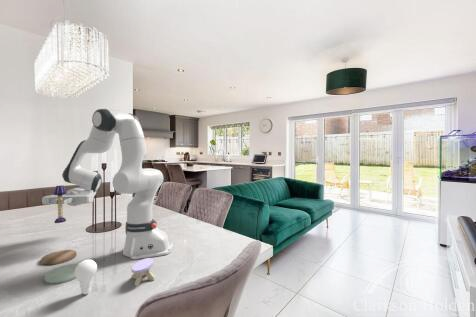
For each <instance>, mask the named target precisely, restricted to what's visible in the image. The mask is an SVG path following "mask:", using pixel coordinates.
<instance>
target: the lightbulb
mask: <svg viewBox="0 0 476 317" xmlns="http://www.w3.org/2000/svg"><path fill="white" fill-rule="evenodd" d="M77 264H78V265H77V266H76V268H75V276H76V278H75V279H77V281H78V283H79V288H80V292H81V294H82V295H87V294H88V295H89V293H90V292H91V291H92V284H93V279H94V276H95V275H96V274H97V271H98V264H97V263H96V262H95V261H94V260H93V259H84V260H81V261H80V262H79V263H77Z"/></svg>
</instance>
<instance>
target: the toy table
mask: <svg viewBox="0 0 476 317" xmlns="http://www.w3.org/2000/svg"><path fill="white" fill-rule="evenodd" d="M154 263H155V262H154V258H153V257H147V258H142V259H141V260H138V261H137V262H135V263H134V264H133V265H132V267H131V273H133V274H132V275H131V279H135V282H134V286H136V287H138V286H139V285H140V284H141V283H142V279H143V275H144V276H146V278H147V281H155V279H156V277H155V275H154V274H153V272H152V271H151V268H152V267H153V266H154Z"/></svg>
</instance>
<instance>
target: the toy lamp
mask: <svg viewBox="0 0 476 317" xmlns="http://www.w3.org/2000/svg"><path fill="white" fill-rule="evenodd" d="M66 192H67V190H66V187H65V185H56V186H55V187H54V191H53V195H58V204H57V211H58V212H57V215H58V216H57V218H56V219H55V220H54V224H59V223H65V222H67V219H66V218H65V217H64V215H63V214H64V212H63V211H64V210H63V209H64V208H63V204H61V200H62V195H64V194H66Z"/></svg>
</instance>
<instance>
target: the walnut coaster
mask: <svg viewBox="0 0 476 317" xmlns="http://www.w3.org/2000/svg"><path fill="white" fill-rule="evenodd" d="M76 257H77V251H76V250H74V249H65V250H64V249H63V250H57V251H54V252H50V253H49V254H46V255H44V256H42V258H41V259H40V263H41V265H43V266H53V265H56V266H57V265H60V264H64V263H67V262H69V261H72V260H73V259H76Z"/></svg>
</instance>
